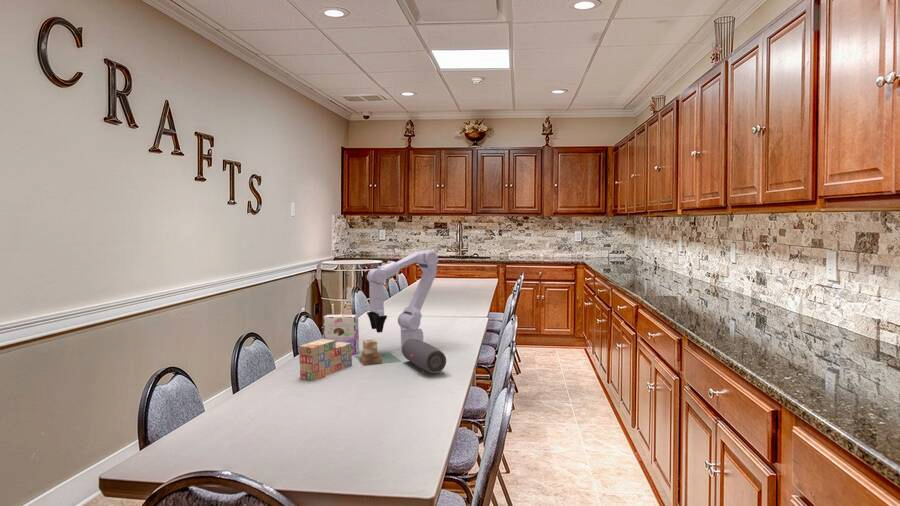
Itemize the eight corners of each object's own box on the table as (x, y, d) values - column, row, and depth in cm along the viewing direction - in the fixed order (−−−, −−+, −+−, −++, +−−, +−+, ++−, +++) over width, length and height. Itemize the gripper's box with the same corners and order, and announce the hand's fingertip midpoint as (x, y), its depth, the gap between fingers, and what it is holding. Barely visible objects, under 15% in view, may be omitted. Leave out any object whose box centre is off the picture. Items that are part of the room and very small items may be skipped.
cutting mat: (389, 353, 231) (389, 352, 231) (401, 362, 217) (401, 361, 217) (354, 357, 225) (354, 356, 225) (364, 366, 211) (364, 365, 211)
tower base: (376, 359, 220) (376, 354, 220) (381, 363, 214) (381, 358, 214) (359, 361, 217) (359, 356, 217) (364, 365, 211) (364, 360, 211)
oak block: (374, 350, 218) (373, 339, 218) (377, 352, 214) (377, 341, 214) (363, 351, 217) (362, 340, 216) (366, 354, 212) (365, 342, 212)
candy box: (359, 352, 233) (358, 314, 232) (355, 355, 228) (355, 316, 227) (328, 351, 235) (327, 313, 234) (323, 355, 229) (322, 316, 228)
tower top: (375, 354, 219) (375, 350, 219) (379, 358, 214) (379, 353, 214) (361, 356, 217) (361, 351, 217) (365, 359, 212) (365, 354, 212)
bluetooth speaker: (400, 363, 215) (399, 338, 215) (421, 360, 220) (421, 335, 219) (424, 378, 195) (424, 350, 195) (447, 374, 200) (447, 347, 199)
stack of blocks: (339, 364, 214) (339, 333, 214) (352, 366, 211) (351, 335, 211) (299, 379, 196) (298, 345, 195) (312, 381, 193) (312, 347, 192)
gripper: (362, 296, 232) (363, 328, 232) (371, 301, 218) (372, 334, 219) (378, 295, 234) (379, 326, 235) (388, 299, 221) (389, 333, 222)
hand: (376, 330), depth 227 cm, fingers open, 7 cm apart
